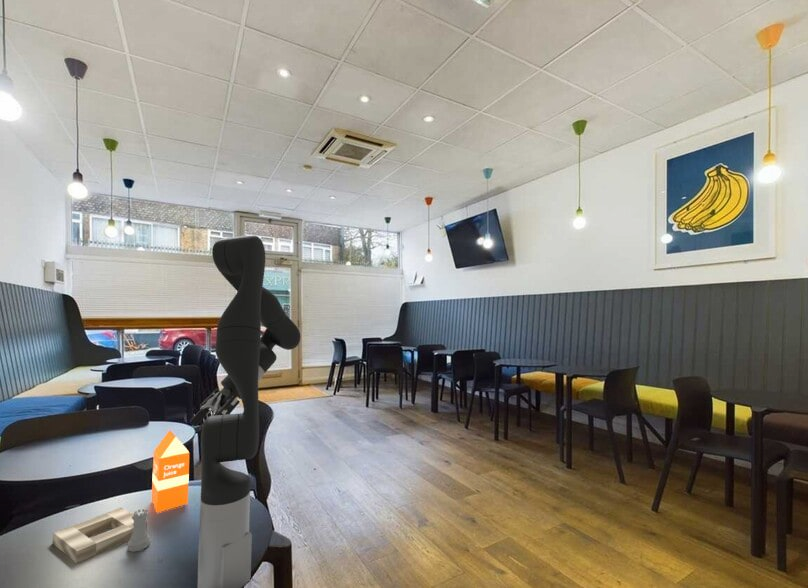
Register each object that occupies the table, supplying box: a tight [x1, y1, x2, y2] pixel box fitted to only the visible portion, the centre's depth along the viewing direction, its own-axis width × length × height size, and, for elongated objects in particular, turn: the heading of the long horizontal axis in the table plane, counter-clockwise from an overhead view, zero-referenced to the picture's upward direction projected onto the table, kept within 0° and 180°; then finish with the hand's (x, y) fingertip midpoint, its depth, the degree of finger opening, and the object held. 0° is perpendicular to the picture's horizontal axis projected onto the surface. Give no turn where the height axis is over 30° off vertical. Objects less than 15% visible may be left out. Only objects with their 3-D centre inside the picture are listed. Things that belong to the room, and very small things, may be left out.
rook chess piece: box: [126, 508, 151, 553], centre depth 89 cm, size 4×4×8 cm
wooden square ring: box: [52, 507, 148, 564], centre depth 92 cm, size 14×14×2 cm
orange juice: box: [151, 429, 190, 514], centre depth 110 cm, size 8×9×20 cm
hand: (197, 427), depth 98 cm, fingers open, 8 cm apart
